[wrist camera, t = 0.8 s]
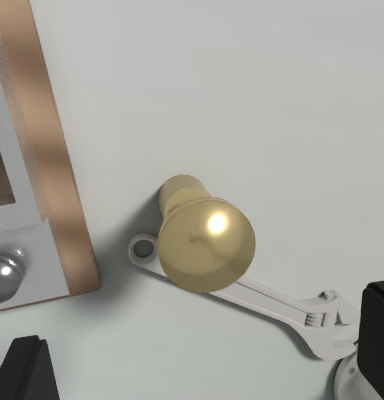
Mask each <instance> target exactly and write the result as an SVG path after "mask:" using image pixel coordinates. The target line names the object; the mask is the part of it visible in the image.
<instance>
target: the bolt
mask: <svg viewBox="0 0 384 400" xmlns="http://www.w3.org/2000/svg"><path fill="white" fill-rule="evenodd" d="M158 202H159V207H160V210H161V214H162V217H163V221H164V222H163V224H162V226H161V228H160V231H159V234H158V239H157V249H158V255H159V260H160V264H161V267H162V269H163V271H164V273H165V274H166V276H167V277H168V278H169V279H170V280H171V281H172V282H173V283H174V284H176V285H177V286H179V287H180V288H182V289H184V290H187V291H191V292H196V293H210V292H215V291H219V290H221V289H224V288H226V287H228V286H230V285H232V284H233V283H234V282H236V281H237V280H238V279H239V278H240V277H241V276H242V275H243V274H244V273H245V272H246V270H247V269H248V268H249V266H250V264H251V262H252V259H253V257H254V252H255V234H254V231H253V228H252V226H251V224H250V222H249V221H248V219H247V218H246V217H245V216H244V215H243V213H242V212H241V211H240V210H239V209H238V208H237V207H236V206H234V205H233V204H231V203H230V202H228V201H226V200H223V199H220V198H215V197H212V196H211V195H210V194H209V192H208V191H207V190H206V188H205V187H204V186H203V185H202V183H201V182H200V181H199V180H197V179H196V178H194V177H192V176H189V175H178V176H174V177H172V178H170V179H169V180H167V181H166V182H165V183H164V184H163V186H162V187H161V189H160V192H159V196H158Z"/></svg>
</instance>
